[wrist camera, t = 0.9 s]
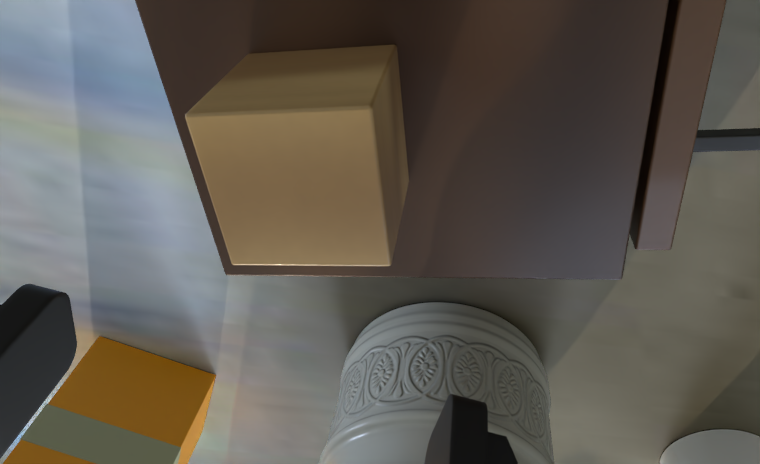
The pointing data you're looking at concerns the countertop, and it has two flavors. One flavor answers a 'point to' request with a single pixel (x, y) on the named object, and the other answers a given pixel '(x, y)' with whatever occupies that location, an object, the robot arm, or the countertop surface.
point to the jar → (437, 385)
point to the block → (306, 156)
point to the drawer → (679, 120)
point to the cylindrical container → (714, 448)
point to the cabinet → (463, 120)
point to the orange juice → (120, 411)
